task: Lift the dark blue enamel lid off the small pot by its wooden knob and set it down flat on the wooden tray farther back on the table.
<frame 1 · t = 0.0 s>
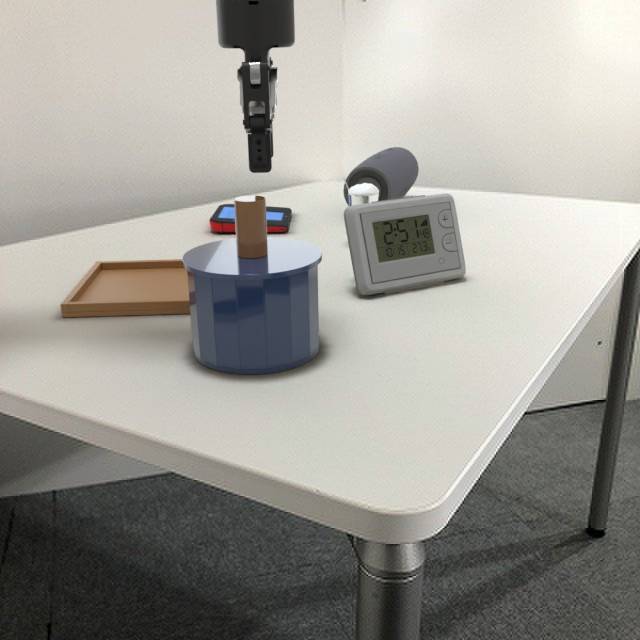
hand: (262, 164, 81), 17 cm above the table, tool pointing down, fingers open, 8 cm apart
pot: (257, 349, 79), on the table
wooden tray: (151, 291, 98), on the table
milkshake: (360, 245, 117), on the table
bluetooth speaker: (382, 210, 140), on the table
pot lid: (252, 259, 76), point 9 cm above the table, touching pot
digital clock: (405, 285, 99), on the table
game console: (252, 225, 131), on the table
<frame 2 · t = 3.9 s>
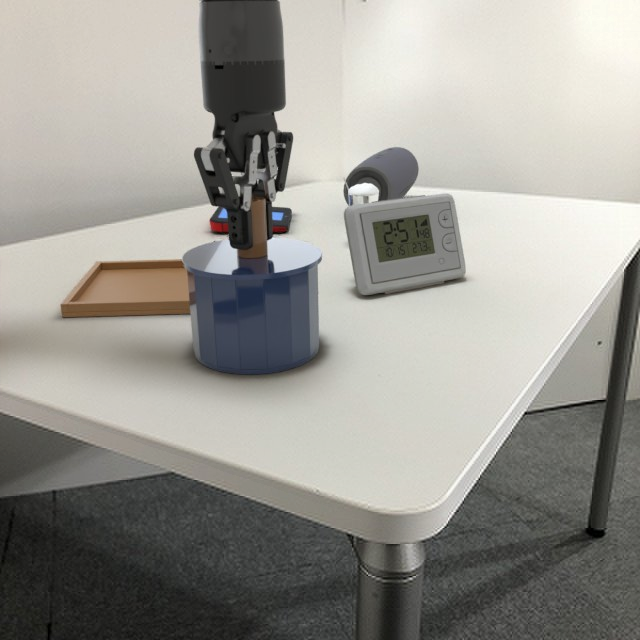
hand: (251, 243, 75), 11 cm above the table, tool pointing down, fingers closed on pot lid, 3 cm apart
pot lid: (252, 259, 76), point 10 cm above the table, touching gripper, pot
everything else where it was.
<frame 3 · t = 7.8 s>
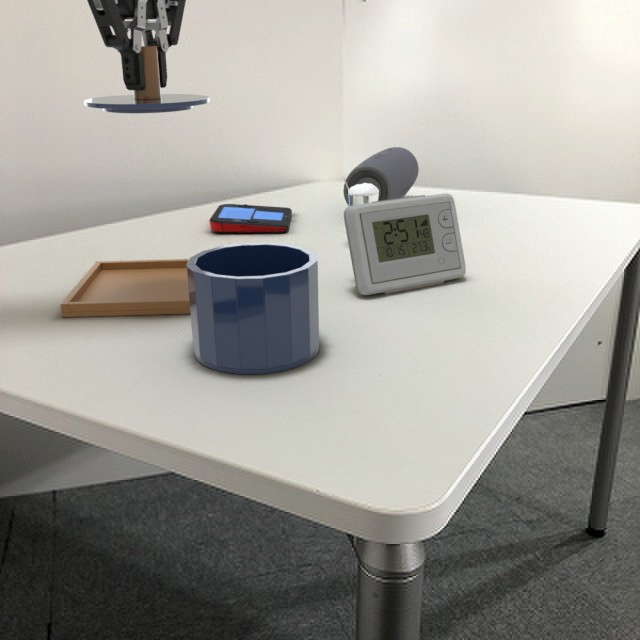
hand: (146, 88, 86), 25 cm above the table, tool pointing down, fingers closed on pot lid, 3 cm apart
pot lid: (148, 103, 86), point 23 cm above the table, touching gripper
everything else where it was.
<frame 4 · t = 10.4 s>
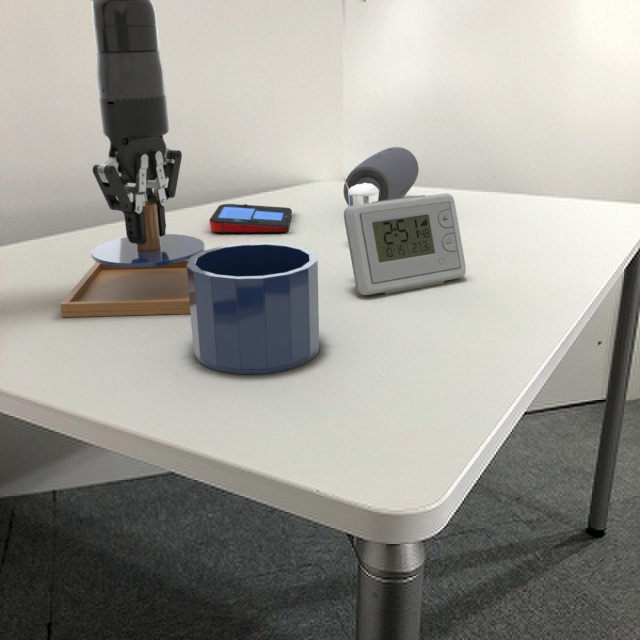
hand: (147, 238, 95), 7 cm above the table, tool pointing down, fingers closed on pot lid, 3 cm apart
pot lid: (149, 251, 96), point 5 cm above the table, touching gripper
everything else where it was.
when the fingers open (3 cm above the table, at t = 11.8 s): pot lid stays where it is, resting on wooden tray.
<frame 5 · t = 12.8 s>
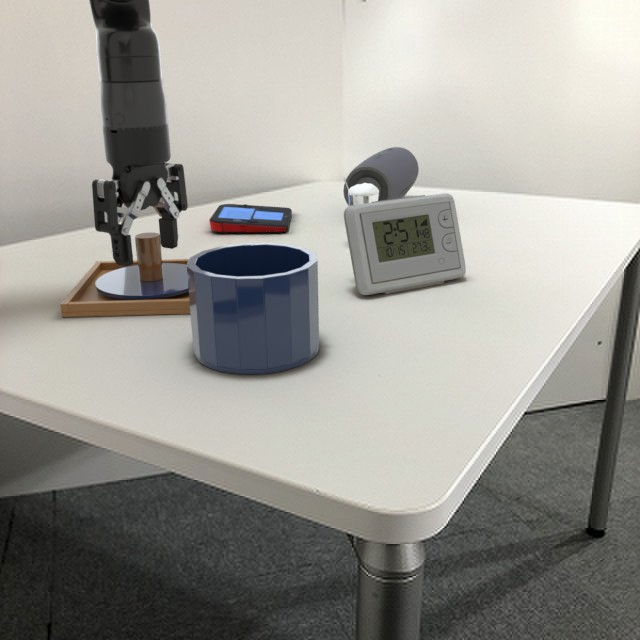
hand: (147, 255, 96), 5 cm above the table, tool pointing down, fingers open, 8 cm apart
pot lid: (151, 282, 97), point 1 cm above the table, touching wooden tray
everything else where it was.
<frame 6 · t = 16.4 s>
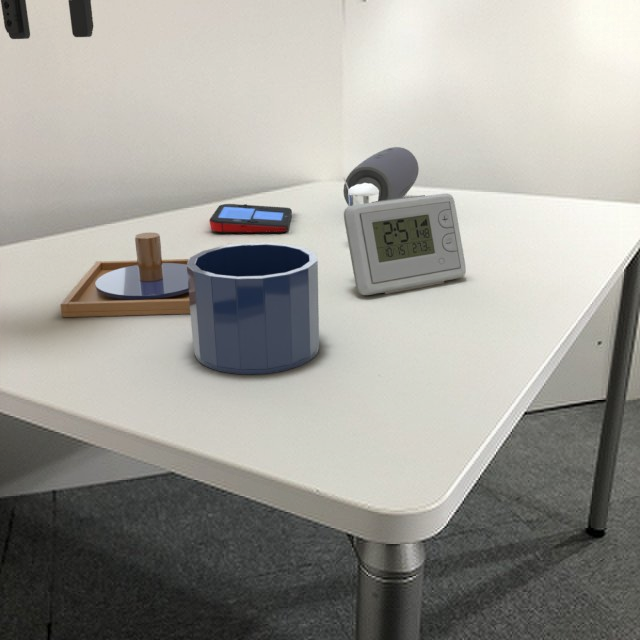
hand: (52, 38, 80), 30 cm above the table, tool pointing down, fingers open, 8 cm apart
nothing on the table moved.
at the end: pot lid inside the target area in the wooden tray (0.1 cm from its centre), point 1.2 cm above the wooden tray's base; pot lid tilted 0°; the gripper is holding nothing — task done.
